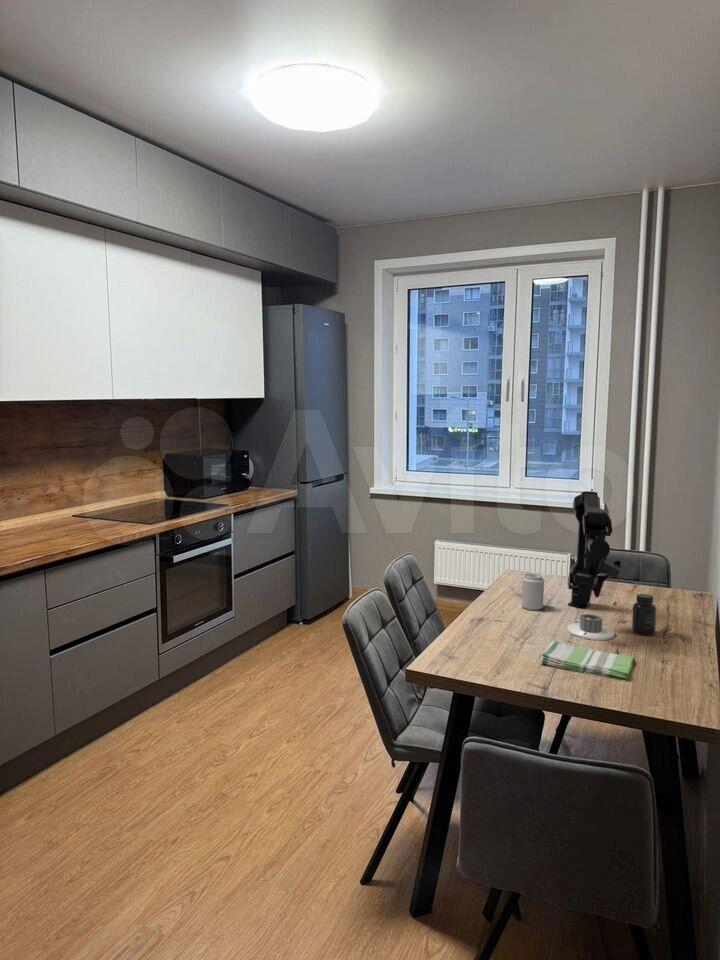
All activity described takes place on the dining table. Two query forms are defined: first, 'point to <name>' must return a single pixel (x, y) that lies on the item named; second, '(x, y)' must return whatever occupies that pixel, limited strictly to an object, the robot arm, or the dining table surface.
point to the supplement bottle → (644, 615)
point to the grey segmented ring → (591, 623)
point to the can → (532, 591)
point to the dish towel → (588, 660)
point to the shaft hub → (603, 635)
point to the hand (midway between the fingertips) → (592, 600)
